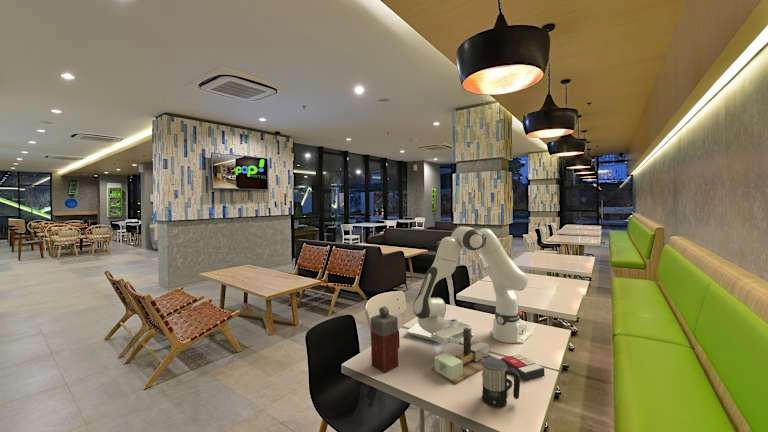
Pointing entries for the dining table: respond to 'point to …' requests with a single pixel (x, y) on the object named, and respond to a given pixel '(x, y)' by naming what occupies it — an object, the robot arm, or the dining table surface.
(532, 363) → the calculator
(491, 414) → the dining table surface
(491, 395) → the milk frother
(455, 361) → the socket block
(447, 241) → the robot arm
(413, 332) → the salad plate
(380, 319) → the red lidded canister
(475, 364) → the walnut board
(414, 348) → the dining table surface
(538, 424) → the dining table surface
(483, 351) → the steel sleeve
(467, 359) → the dark tall piece
